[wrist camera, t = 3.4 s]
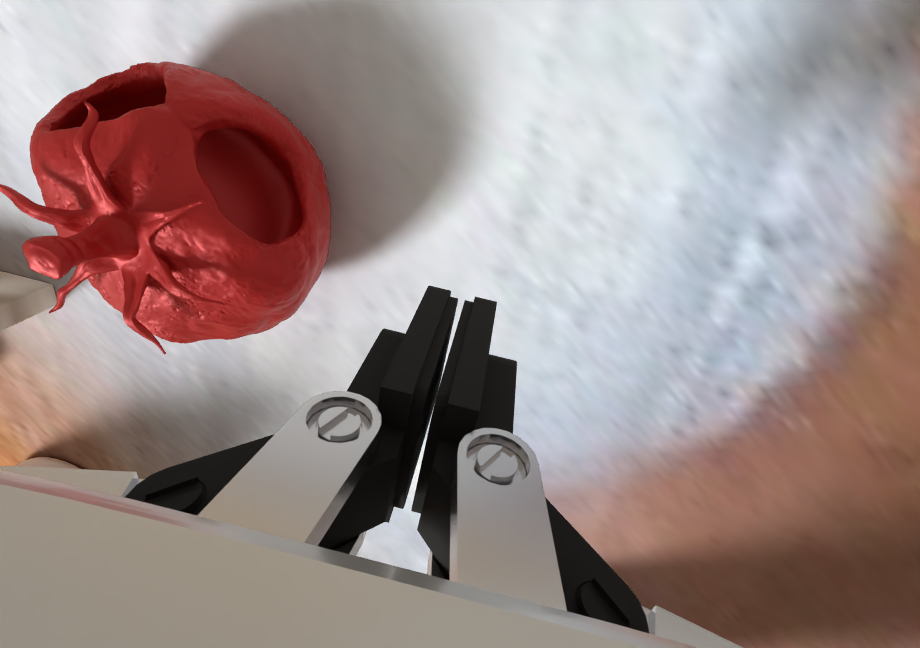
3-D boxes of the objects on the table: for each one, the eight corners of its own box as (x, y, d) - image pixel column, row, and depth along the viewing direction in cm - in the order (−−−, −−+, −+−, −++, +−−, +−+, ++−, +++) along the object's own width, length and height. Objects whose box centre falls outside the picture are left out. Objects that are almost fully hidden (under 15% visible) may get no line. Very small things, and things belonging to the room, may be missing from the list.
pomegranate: (308, 327, 23) (188, 465, 15) (122, 219, 22) (-119, 308, 14) (396, 157, 18) (288, 228, 11) (165, 3, 17) (-168, -52, 9)
